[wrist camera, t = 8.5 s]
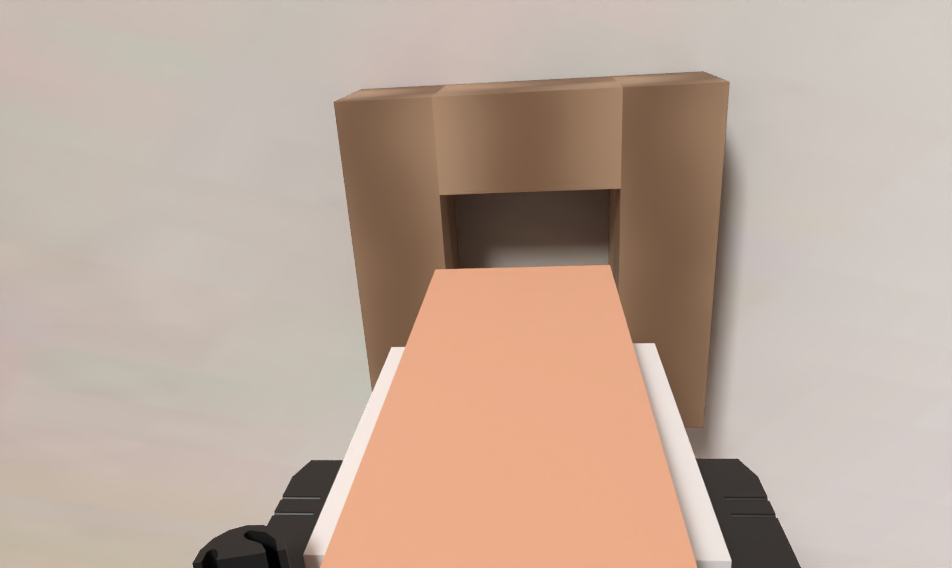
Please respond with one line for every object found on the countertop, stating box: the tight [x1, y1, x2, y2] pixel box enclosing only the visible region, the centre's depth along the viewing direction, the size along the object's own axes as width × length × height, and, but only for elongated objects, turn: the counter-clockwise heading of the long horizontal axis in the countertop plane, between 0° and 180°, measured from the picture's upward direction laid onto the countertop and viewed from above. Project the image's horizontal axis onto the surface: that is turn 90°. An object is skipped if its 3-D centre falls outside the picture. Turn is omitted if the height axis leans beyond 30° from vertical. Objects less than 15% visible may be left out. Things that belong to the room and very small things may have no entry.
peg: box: [320, 265, 697, 568], centre depth 13 cm, size 4×4×12 cm
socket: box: [334, 72, 730, 427], centre depth 25 cm, size 12×12×4 cm
